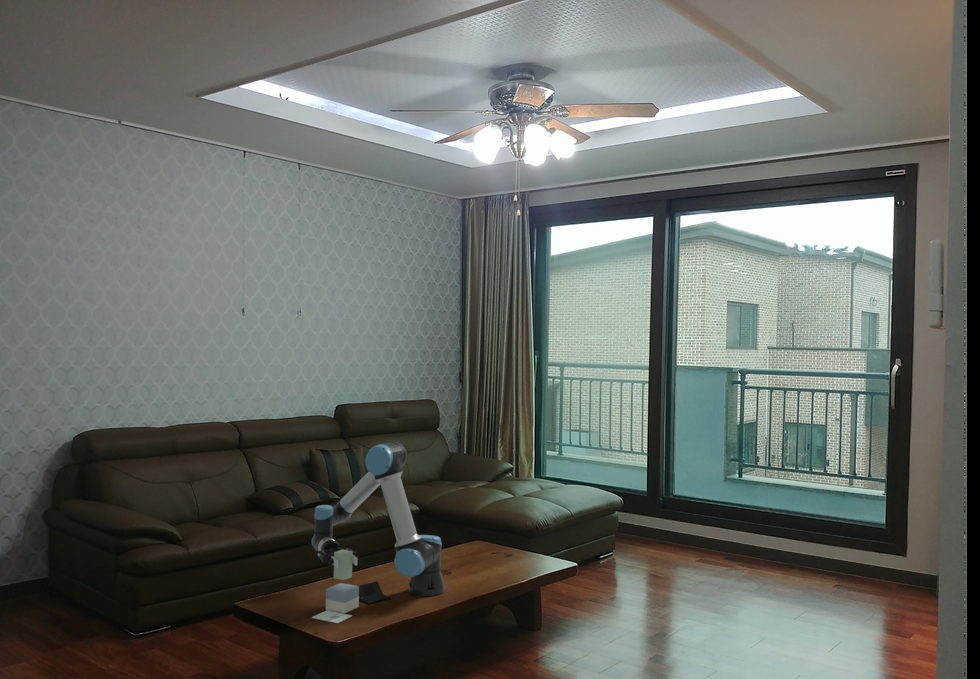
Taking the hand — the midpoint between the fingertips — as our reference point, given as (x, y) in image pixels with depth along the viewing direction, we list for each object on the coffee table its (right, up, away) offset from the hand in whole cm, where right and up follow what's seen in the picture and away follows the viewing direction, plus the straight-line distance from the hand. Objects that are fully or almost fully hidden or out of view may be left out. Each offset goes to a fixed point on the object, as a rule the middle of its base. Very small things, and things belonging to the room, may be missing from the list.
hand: (346, 562), depth 299 cm
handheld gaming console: (+8, -20, +16) cm, 26 cm away
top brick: (-2, -7, +4) cm, 8 cm away
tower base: (-3, -19, +4) cm, 19 cm away
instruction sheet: (-4, -19, -6) cm, 20 cm away
